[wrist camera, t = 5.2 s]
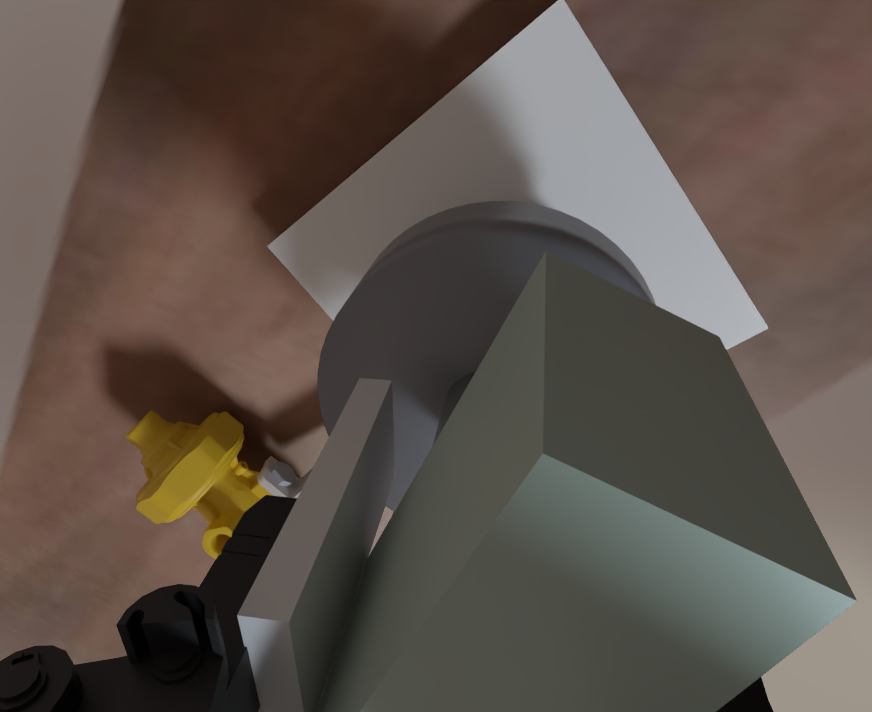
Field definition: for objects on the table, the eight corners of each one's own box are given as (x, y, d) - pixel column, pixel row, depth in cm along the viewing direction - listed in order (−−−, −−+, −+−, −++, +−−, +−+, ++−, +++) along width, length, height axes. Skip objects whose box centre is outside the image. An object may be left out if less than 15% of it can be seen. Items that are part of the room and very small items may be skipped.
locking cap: (437, 100, 15) (201, 293, 5) (757, 263, 16) (1146, 738, 6) (295, 437, 21) (48, 854, 11) (535, 547, 22) (523, 1041, 11)
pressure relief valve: (291, 552, 33) (135, 429, 31) (455, 410, 30) (293, 259, 27) (260, 633, 28) (70, 493, 26) (453, 473, 25) (254, 294, 22)
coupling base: (561, -3, 20) (565, -8, 14) (756, 310, 23) (821, 405, 18) (281, 233, 25) (204, 298, 19) (477, 458, 29) (460, 567, 23)
